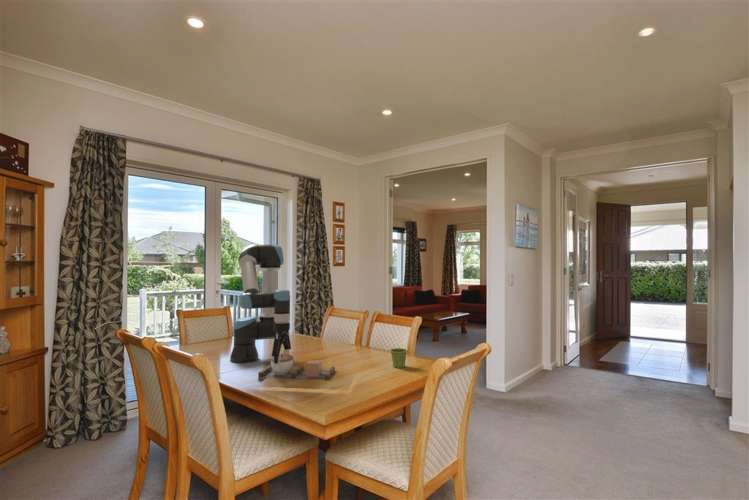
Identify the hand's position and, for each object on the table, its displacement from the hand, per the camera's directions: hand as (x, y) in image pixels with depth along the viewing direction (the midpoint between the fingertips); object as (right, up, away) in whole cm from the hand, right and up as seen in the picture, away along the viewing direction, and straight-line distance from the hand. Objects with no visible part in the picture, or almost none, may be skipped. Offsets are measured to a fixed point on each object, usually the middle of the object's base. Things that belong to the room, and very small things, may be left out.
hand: (281, 366), depth 198 cm
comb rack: (+8, -5, -1) cm, 9 cm away
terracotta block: (+16, -3, -2) cm, 16 cm away
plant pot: (+57, -6, +18) cm, 60 cm away
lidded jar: (0, -4, 0) cm, 4 cm away
